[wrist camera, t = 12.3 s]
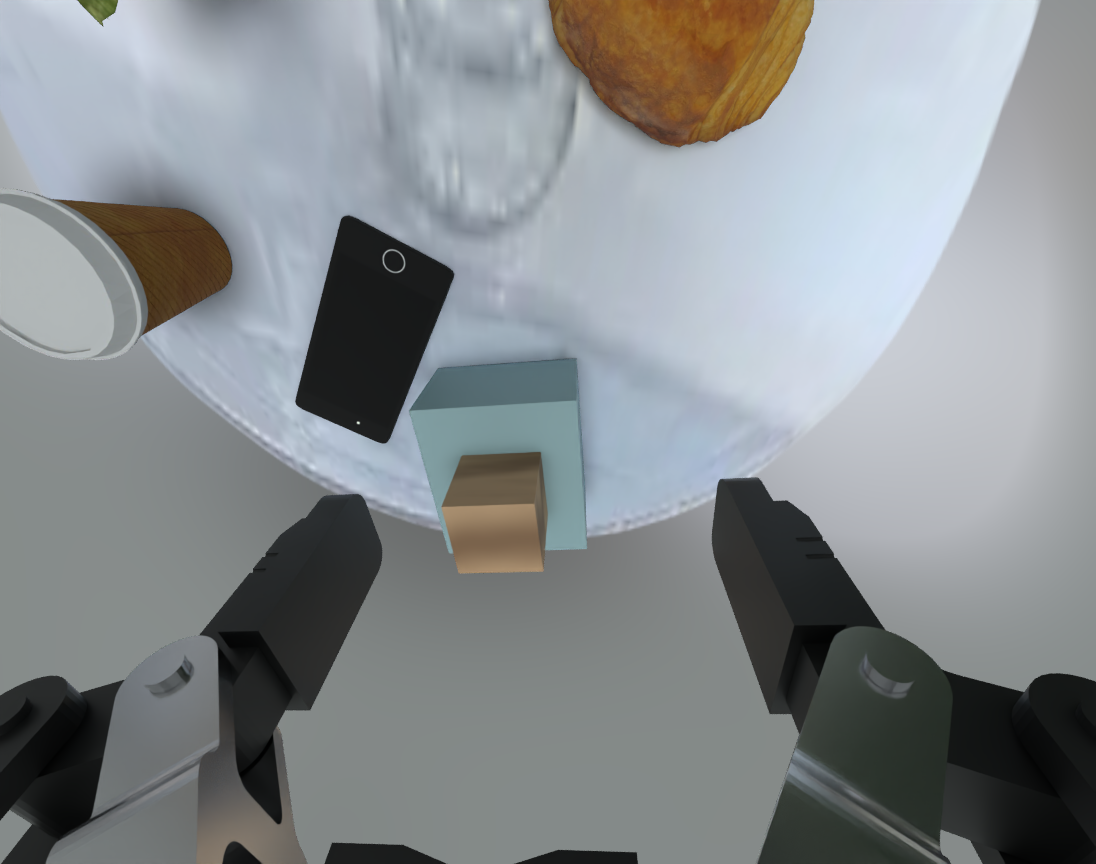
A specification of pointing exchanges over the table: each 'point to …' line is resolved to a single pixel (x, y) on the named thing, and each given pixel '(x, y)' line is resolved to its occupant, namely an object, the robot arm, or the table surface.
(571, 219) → the table surface
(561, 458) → the stand
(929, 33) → the table surface
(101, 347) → the disposable coffee cup
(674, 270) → the table surface
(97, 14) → the house plant
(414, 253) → the cell phone
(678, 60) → the croissant
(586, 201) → the table surface
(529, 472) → the walnut cube
